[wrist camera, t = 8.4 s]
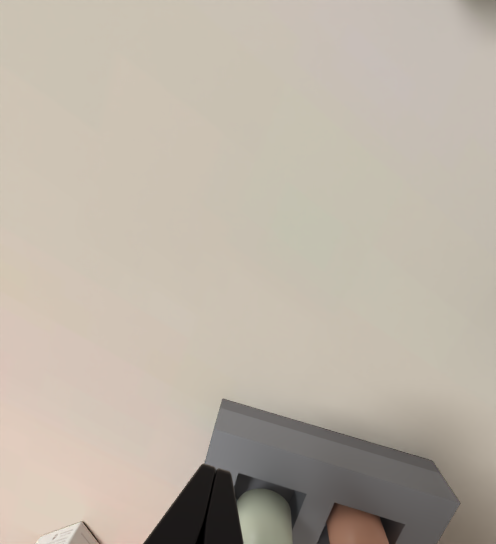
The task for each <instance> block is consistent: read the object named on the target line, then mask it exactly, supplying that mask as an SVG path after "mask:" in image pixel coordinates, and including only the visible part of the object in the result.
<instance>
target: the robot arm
mask: <svg viewBox="0 0 496 544" xmlns="http://www.w3.org/2000/svg"><path fill="white" fill-rule="evenodd" d="M143 544H244V542H243V536H242V531H241V525H240V520H239V514H238V508H237V503H236V497H235V491H234V486H233V480H232V475H231V473H230V471H227V470H224V469H220V468H218V469H217V470H216V468H215V467H214V466H211V465H208V464H202V465H201V466H200V467H199V468H198V470H197V471H196V473H195V474H194V475H193V477H192V478H191V479H190V481H189V482H188V483H187V485H186V486H185V488H184V489H183V490H182V492H181V493H180V494H179V496H178V497H177V498H176V500H175V501H174V503H173V504H172V505H171V507H170V508H169V509H168V511H167V512H166V513H165V515H164V516H163V518H162V519H161V520H160V522H159V523H158V524H157V526H156V527H155V528H154V530H153V531H152V533H151V534H150V535H149V537H148V538H147V539H146V541H145V542H144V543H143Z"/></svg>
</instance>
